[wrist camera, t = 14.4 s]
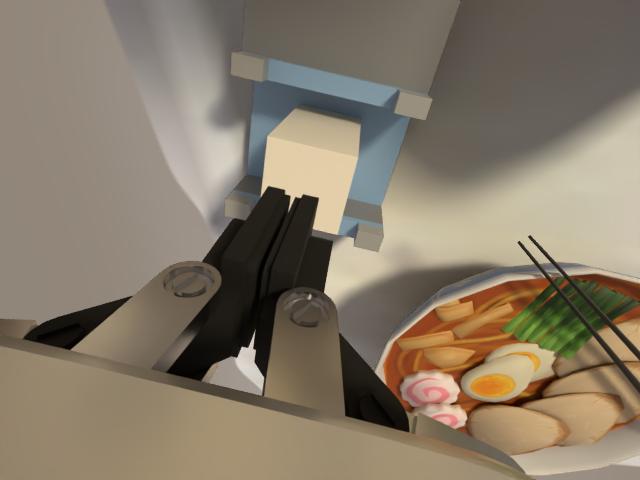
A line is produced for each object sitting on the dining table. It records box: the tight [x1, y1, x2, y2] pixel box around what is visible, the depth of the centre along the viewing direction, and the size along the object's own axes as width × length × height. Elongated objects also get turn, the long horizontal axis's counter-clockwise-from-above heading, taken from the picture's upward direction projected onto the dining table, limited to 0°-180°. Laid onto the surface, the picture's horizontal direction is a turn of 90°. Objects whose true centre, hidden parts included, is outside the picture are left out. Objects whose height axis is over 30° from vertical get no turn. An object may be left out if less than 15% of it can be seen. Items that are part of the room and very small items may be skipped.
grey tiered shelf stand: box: [224, 0, 461, 252], centre depth 17 cm, size 24×10×6 cm, turn 169°
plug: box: [261, 104, 361, 235], centre depth 19 cm, size 4×4×8 cm
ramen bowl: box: [374, 236, 640, 476], centre depth 26 cm, size 25×23×8 cm
